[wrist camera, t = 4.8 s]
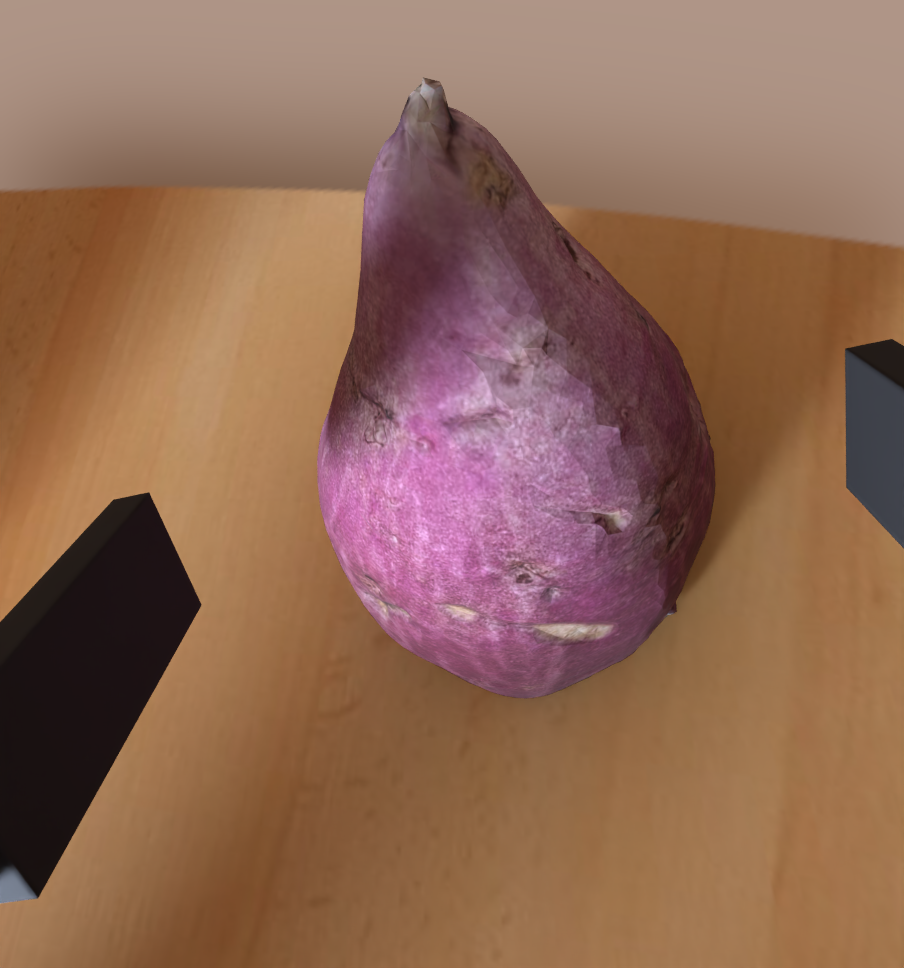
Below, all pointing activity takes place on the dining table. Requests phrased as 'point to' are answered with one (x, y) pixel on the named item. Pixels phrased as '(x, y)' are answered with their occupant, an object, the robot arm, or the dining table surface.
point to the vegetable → (504, 426)
